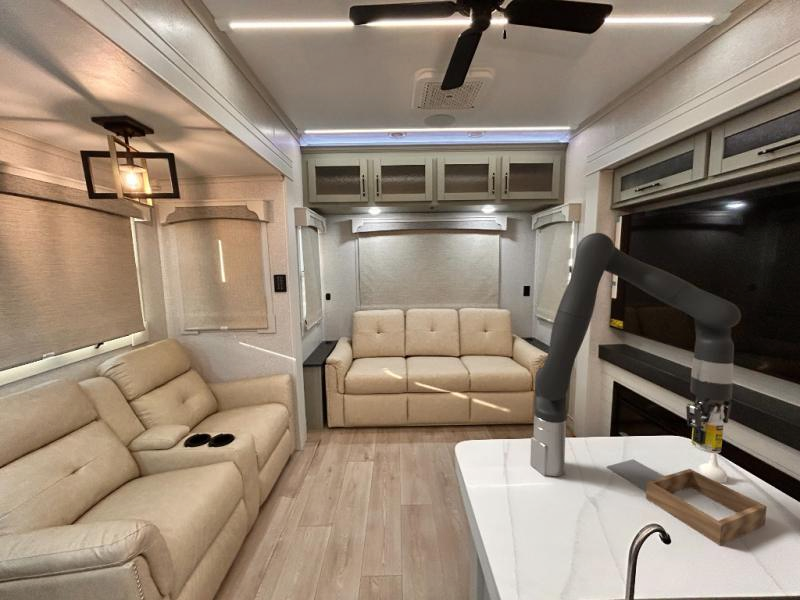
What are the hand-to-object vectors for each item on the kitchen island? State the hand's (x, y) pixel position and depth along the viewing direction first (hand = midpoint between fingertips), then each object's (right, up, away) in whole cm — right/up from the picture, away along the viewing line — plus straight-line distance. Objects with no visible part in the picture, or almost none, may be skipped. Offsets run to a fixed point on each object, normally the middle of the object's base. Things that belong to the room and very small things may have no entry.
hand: (706, 440), depth 81 cm
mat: (-5, -18, +17) cm, 25 cm away
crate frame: (0, -19, +1) cm, 19 cm away
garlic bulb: (+17, -18, +15) cm, 29 cm away
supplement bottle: (0, -2, 0) cm, 2 cm away
